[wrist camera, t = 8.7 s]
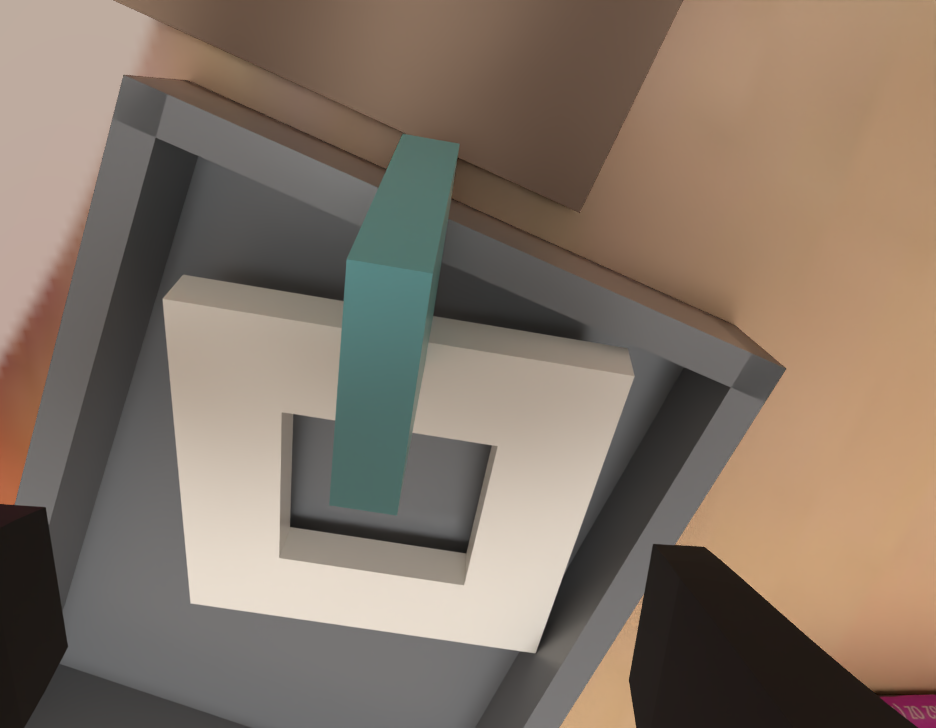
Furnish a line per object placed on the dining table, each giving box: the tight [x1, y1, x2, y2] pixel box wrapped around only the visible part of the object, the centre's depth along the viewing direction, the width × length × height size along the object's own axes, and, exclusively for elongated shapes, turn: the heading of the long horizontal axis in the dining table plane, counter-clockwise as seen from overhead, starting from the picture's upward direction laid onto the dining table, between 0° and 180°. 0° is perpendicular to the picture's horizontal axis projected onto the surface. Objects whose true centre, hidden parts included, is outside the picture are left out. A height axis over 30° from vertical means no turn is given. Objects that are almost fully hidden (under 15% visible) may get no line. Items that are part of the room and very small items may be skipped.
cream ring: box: [163, 134, 635, 653], centre depth 14 cm, size 12×9×5 cm
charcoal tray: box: [15, 75, 786, 728], centre depth 18 cm, size 14×17×3 cm
